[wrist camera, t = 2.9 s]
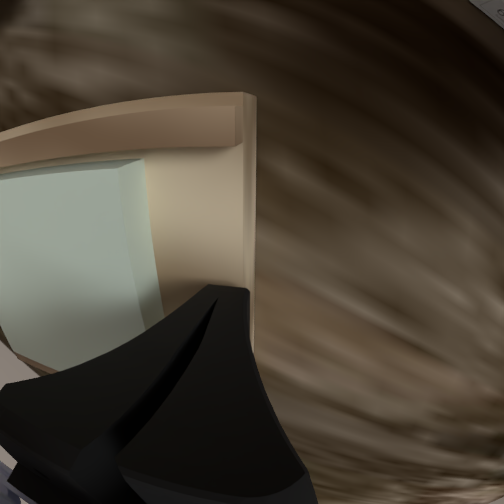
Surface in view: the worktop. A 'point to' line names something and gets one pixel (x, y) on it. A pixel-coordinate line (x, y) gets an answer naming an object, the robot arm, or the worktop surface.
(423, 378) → the worktop surface
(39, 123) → the wooden box
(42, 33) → the worktop surface
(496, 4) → the light bulb box
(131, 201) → the cover plate
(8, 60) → the worktop surface
